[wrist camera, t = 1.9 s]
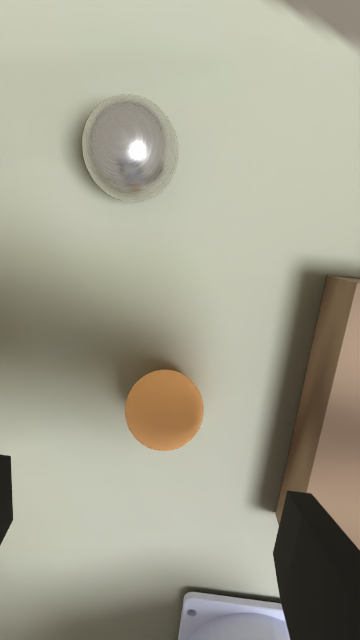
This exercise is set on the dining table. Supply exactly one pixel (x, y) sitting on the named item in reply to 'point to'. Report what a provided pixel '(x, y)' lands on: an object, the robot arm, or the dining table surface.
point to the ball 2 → (164, 410)
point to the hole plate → (330, 412)
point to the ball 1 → (130, 148)
